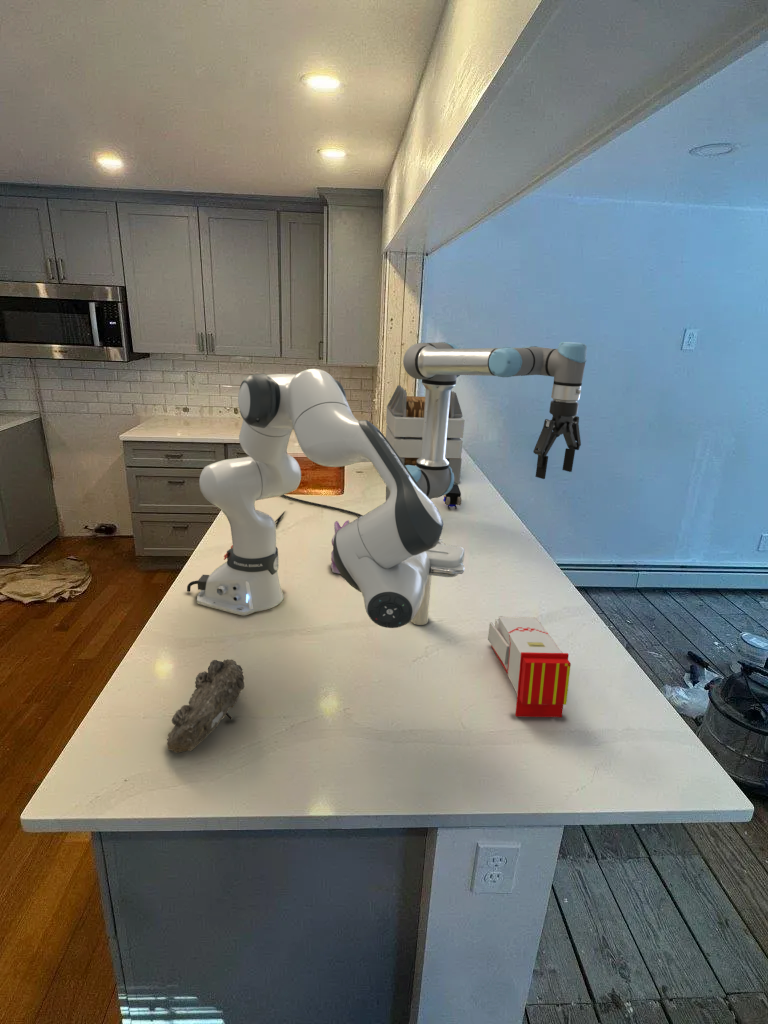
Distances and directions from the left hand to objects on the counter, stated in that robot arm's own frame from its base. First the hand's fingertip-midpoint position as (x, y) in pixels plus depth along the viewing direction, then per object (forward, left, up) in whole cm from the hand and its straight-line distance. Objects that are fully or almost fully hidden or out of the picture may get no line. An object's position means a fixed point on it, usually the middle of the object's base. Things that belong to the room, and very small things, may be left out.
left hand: (415, 539), depth 114 cm
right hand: (+33, +60, 0) cm, 68 cm away
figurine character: (+1, +116, -31) cm, 120 cm away
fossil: (-34, -24, -31) cm, 52 cm away
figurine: (-26, +46, -31) cm, 62 cm away
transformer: (-17, +159, -31) cm, 163 cm away
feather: (-59, +85, -31) cm, 108 cm away
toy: (+25, +4, -31) cm, 40 cm away
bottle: (0, +22, -31) cm, 38 cm away
